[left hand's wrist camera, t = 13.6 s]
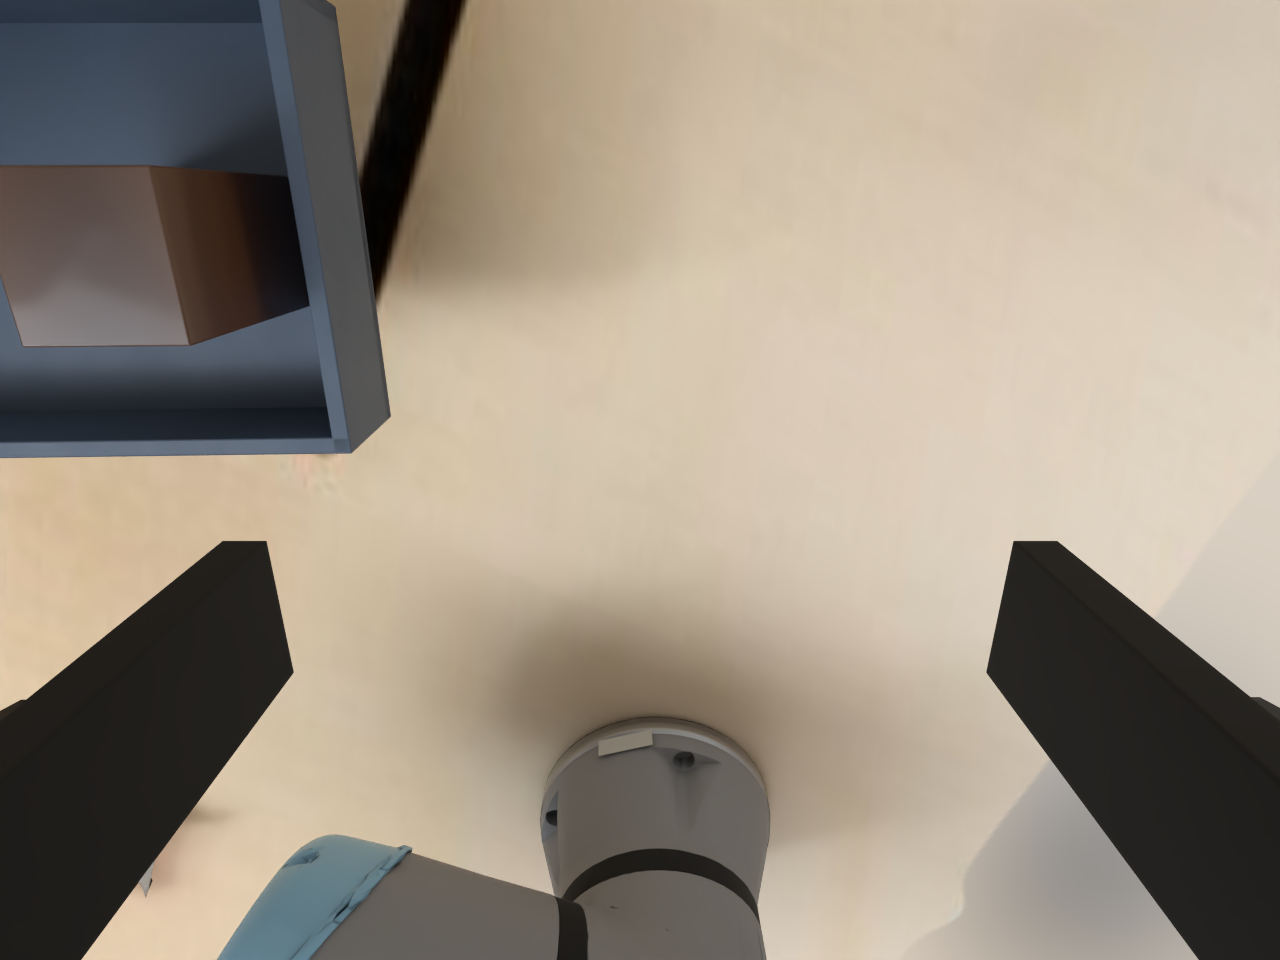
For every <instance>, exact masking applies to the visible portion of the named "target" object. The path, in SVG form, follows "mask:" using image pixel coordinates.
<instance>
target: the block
mask: <svg viewBox="0 0 1280 960" xmlns="http://www.w3.org/2000/svg"><path fill="white" fill-rule="evenodd" d="M0 277H1V280H2V283H3V286H4V289H5V293H6V296H7V299H8V302H9V305H10V309H11V312H12V315H13V318H14V321H15V324H16V328H17V331H18V334H19V337H20V340H21V344H22V346H23V347H140V346H192V345H195V344H198V343H201V342H204V341H207V340H210V339H213V338H216V337H219V336H222V335H225V334H228V333H231V332H234V331H237V330H240V329H243V328H246V327H249V326H252V325H255V324H258V323H261V322H264V321H267V320H270V319H273V318H276V317H279V316H282V315H285V314H288V313H291V312H294V311H297V310H300V309H303V308H306V307H309V299H308V293H307V287H306V281H305V275H304V269H303V263H302V257H301V251H300V245H299V239H298V233H297V227H296V221H295V215H294V209H293V203H292V197H291V191H290V185H289V179H288V177H287V176H281V175H268V174H256V173H244V172H231V171H219V170H207V169H194V168H182V167H169V166H157V165H0Z"/></svg>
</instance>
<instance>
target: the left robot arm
mask: <svg viewBox="0 0 1280 960" xmlns="http://www.w3.org/2000/svg"><path fill="white" fill-rule="evenodd" d="M293 673H294V672H293V667H292V662H291V657H290V653H289V648H288V643H287V638H286V633H285V629H284V624H283V619H282V614H281V609H280V604H279V600H278V595H277V590H276V585H275V580H274V576H273V571H272V566H271V561H270V556H269V551H268V547H267V542H266V541H222V542H221V543H220V544H219V545H217V546H216V547H215V548H214V549H212V550H211V551H210V552H209V553H207V554H206V555H205V556H204V557H202V558H201V559H200V560H199V561H198V562H196V563H195V564H194V565H193V566H191V567H190V568H189V569H188V570H186V571H185V572H184V573H183V574H181V575H180V576H179V577H178V578H176V579H175V580H174V581H173V582H172V583H170V584H169V585H168V586H167V587H165V588H164V589H163V590H162V591H160V592H159V593H158V594H157V595H155V596H154V597H153V598H152V599H150V600H149V601H148V602H147V603H146V604H144V605H143V606H142V607H141V608H139V609H138V610H137V611H136V612H134V613H133V614H132V615H131V616H129V617H128V618H127V619H126V620H124V621H123V622H122V623H121V624H120V625H118V626H117V627H116V628H115V629H113V630H112V631H111V632H110V633H108V634H107V635H106V636H105V637H103V638H102V639H101V640H100V641H99V642H97V643H96V644H95V645H94V646H92V647H91V648H90V649H89V650H87V651H86V652H85V653H84V654H82V655H81V656H80V657H79V658H77V659H76V660H75V661H74V662H73V663H71V664H70V665H69V666H68V667H66V668H65V669H64V670H63V671H61V672H60V673H59V674H58V675H56V676H55V677H54V678H53V679H51V680H50V681H49V682H48V683H47V684H45V685H44V686H43V687H42V688H40V689H39V690H38V691H37V692H35V693H34V694H33V695H32V696H30V697H29V698H28V699H27V700H20V701H18V702H16V703H14V704H12V705H11V706H9V707H7V708H5V709H3V710H1V711H0V960H81V959H82V958H83V957H84V955H85V954H86V953H87V951H88V950H89V948H90V947H91V946H92V944H93V943H94V942H95V940H96V939H97V938H98V936H99V935H100V934H101V932H102V931H103V930H104V928H105V927H106V925H107V924H108V923H109V921H110V920H111V919H112V917H113V916H114V915H115V913H116V912H117V911H118V909H119V908H120V907H121V905H122V904H123V903H124V901H125V900H126V898H127V897H128V896H129V894H130V893H131V892H132V890H133V889H134V888H135V886H136V885H137V884H138V882H139V881H140V880H141V878H142V877H143V875H144V874H145V873H146V871H147V870H148V869H149V867H150V866H151V865H152V863H153V862H154V861H155V859H156V858H157V857H158V855H159V854H160V852H161V851H162V850H163V848H164V847H165V846H166V844H167V843H168V842H169V840H170V839H171V838H172V836H173V835H174V834H175V832H176V831H177V829H178V828H179V827H180V825H181V824H182V823H183V821H184V820H185V819H186V817H187V816H188V815H189V813H190V812H191V811H192V809H193V808H194V807H195V805H196V804H197V802H198V801H199V800H200V798H201V797H202V796H203V794H204V793H205V792H206V790H207V789H208V788H209V786H210V785H211V784H212V782H213V781H214V779H215V778H216V777H217V775H218V774H219V773H220V771H221V770H222V769H223V767H224V766H225V765H226V763H227V762H228V761H229V759H230V758H231V756H232V755H233V754H234V752H235V751H236V750H237V748H238V747H239V746H240V744H241V743H242V742H243V740H244V739H245V738H246V736H247V735H248V733H249V732H250V731H251V729H252V728H253V727H254V725H255V724H256V723H257V721H258V720H259V719H260V717H261V716H262V715H263V713H264V712H265V710H266V709H267V708H268V706H269V705H270V704H271V702H272V701H273V700H274V698H275V697H276V696H277V694H278V693H279V692H280V690H281V689H282V688H283V686H284V685H285V683H286V682H287V681H288V679H289V678H290V677H291V675H292V674H293ZM986 673H987V674H988V675H989V677H990V678H991V679H992V681H993V682H994V683H995V685H996V686H997V688H998V689H999V690H1000V692H1001V693H1002V694H1003V696H1004V697H1005V698H1006V700H1007V701H1008V702H1009V704H1010V705H1011V706H1012V708H1013V709H1014V711H1015V712H1016V713H1017V715H1018V716H1019V717H1020V719H1021V720H1022V721H1023V723H1024V724H1025V725H1026V727H1027V728H1028V729H1029V731H1030V732H1031V733H1032V735H1033V736H1034V738H1035V739H1036V740H1037V742H1038V743H1039V744H1040V746H1041V747H1042V748H1043V750H1044V751H1045V752H1046V754H1047V755H1048V756H1049V758H1050V759H1051V760H1052V762H1053V763H1054V765H1055V766H1056V767H1057V769H1058V770H1059V771H1060V773H1061V774H1062V775H1063V777H1064V778H1065V779H1066V781H1067V782H1068V784H1069V785H1070V786H1071V788H1072V789H1073V790H1074V792H1075V793H1076V794H1077V796H1078V797H1079V798H1080V800H1081V801H1082V802H1083V804H1084V805H1085V807H1086V808H1087V809H1088V811H1089V812H1090V813H1091V815H1092V816H1093V817H1094V819H1095V820H1096V821H1097V823H1098V824H1099V825H1100V827H1101V828H1102V829H1103V831H1104V832H1105V834H1106V835H1107V836H1108V838H1109V839H1110V840H1111V842H1112V843H1113V844H1114V846H1115V847H1116V848H1117V850H1118V851H1119V852H1120V854H1121V855H1122V857H1123V858H1124V859H1125V861H1126V862H1127V863H1128V865H1129V866H1130V867H1131V869H1132V870H1133V871H1134V873H1135V874H1136V875H1137V877H1138V878H1139V879H1140V881H1141V882H1142V884H1143V885H1144V886H1145V888H1146V889H1147V890H1148V892H1149V893H1150V894H1151V896H1152V897H1153V898H1154V900H1155V901H1156V903H1157V904H1158V905H1159V907H1160V908H1161V909H1162V910H1163V912H1164V913H1165V915H1166V916H1167V917H1168V919H1169V920H1170V921H1171V923H1172V924H1173V925H1174V927H1175V928H1176V930H1177V931H1178V932H1179V934H1180V935H1181V936H1182V938H1183V939H1184V940H1185V942H1186V943H1187V944H1188V946H1189V947H1190V948H1191V950H1192V951H1193V953H1194V954H1195V955H1196V957H1197V958H1198V959H1199V960H1280V708H1279V707H1277V706H1275V705H1273V704H1271V703H1270V702H1268V701H1266V700H1264V699H1262V698H1260V697H1250V696H1248V695H1247V694H1246V693H1245V692H1243V691H1242V690H1241V689H1240V688H1238V687H1237V686H1236V685H1235V684H1233V683H1232V682H1231V681H1230V680H1229V679H1227V678H1226V677H1225V676H1223V675H1222V674H1221V673H1220V672H1219V671H1217V670H1216V669H1215V668H1214V667H1212V666H1211V665H1210V664H1209V663H1207V662H1206V661H1205V660H1204V659H1203V658H1201V657H1200V656H1199V655H1198V654H1196V653H1195V652H1194V651H1193V650H1191V649H1190V648H1189V647H1188V646H1186V645H1185V644H1184V643H1183V642H1181V641H1180V640H1179V639H1178V638H1177V637H1175V636H1174V635H1173V634H1172V633H1170V632H1169V631H1168V630H1167V629H1165V628H1164V627H1163V626H1162V625H1160V624H1159V623H1158V622H1157V621H1155V620H1154V619H1153V618H1152V617H1151V616H1149V615H1148V614H1147V613H1146V612H1144V611H1143V610H1142V609H1141V608H1139V607H1138V606H1137V605H1136V604H1134V603H1133V602H1132V601H1131V600H1130V599H1128V598H1127V597H1126V596H1125V595H1123V594H1122V593H1121V592H1120V591H1118V590H1117V589H1116V588H1115V587H1113V586H1112V585H1111V584H1110V583H1108V582H1107V581H1106V580H1105V579H1104V578H1102V577H1101V576H1100V575H1099V574H1097V573H1096V572H1095V571H1094V570H1092V569H1091V568H1090V567H1089V566H1087V565H1086V564H1085V563H1084V562H1082V561H1081V560H1080V559H1079V558H1078V557H1076V556H1075V555H1074V554H1073V553H1071V552H1070V551H1069V550H1068V549H1066V548H1065V547H1064V546H1063V545H1061V544H1060V543H1059V542H1058V541H1014V542H1013V547H1012V551H1011V556H1010V561H1009V566H1008V571H1007V576H1006V580H1005V585H1004V590H1003V595H1002V600H1001V604H1000V609H999V614H998V619H997V624H996V629H995V633H994V638H993V643H992V648H991V653H990V657H989V662H988V667H987V672H986ZM540 822H541V836H542V843H543V848H544V852H545V856H546V861H547V865H548V869H549V873H550V878H551V882H552V886H553V891H554V895H555V896H553V895H551V894H547V893H544V892H540V891H537V890H533V889H530V888H526V887H523V886H519V885H516V884H512V883H509V882H505V881H502V880H498V879H495V878H491V877H488V876H484V875H481V874H478V873H475V872H472V871H468V870H465V869H462V868H459V867H456V866H452V865H449V864H446V863H443V862H439V861H436V860H433V859H430V858H427V857H423V856H420V855H417V854H414V853H411V852H412V848H411V847H408V846H405V845H403V846H400V847H398V848H395V847H391V846H387V845H382V844H378V843H374V842H370V841H365V840H361V839H357V838H353V837H349V836H344V835H327V836H323V837H320V838H317V839H315V840H313V841H311V842H309V843H308V844H306V845H304V846H303V847H302V848H300V849H299V850H298V851H297V852H296V853H295V854H294V855H293V856H291V857H290V858H289V860H288V861H287V862H286V863H285V864H284V865H283V866H282V867H281V869H280V870H279V871H278V872H277V874H276V875H275V876H274V877H273V879H272V880H271V881H270V883H269V884H268V885H267V887H266V888H265V889H264V891H263V892H262V893H261V895H260V896H259V898H258V899H257V900H256V902H255V903H254V905H253V906H252V907H251V909H250V910H249V912H248V913H247V915H246V916H245V918H244V919H243V921H242V922H241V924H240V925H239V927H238V928H237V930H236V931H235V933H234V934H233V936H232V937H231V939H230V940H229V942H228V943H227V945H226V946H225V948H224V949H223V951H222V952H221V954H220V956H219V957H218V959H217V960H767V959H766V954H765V948H764V942H763V936H762V931H761V926H760V920H759V914H758V907H757V903H758V898H759V892H760V886H761V881H762V875H763V870H764V864H765V858H766V852H767V846H768V841H769V835H770V811H769V805H768V800H767V795H766V791H765V787H764V783H763V780H762V777H761V775H760V773H759V771H758V769H757V767H756V766H755V764H754V763H753V761H752V760H751V759H750V757H749V756H748V755H747V754H746V753H745V752H744V751H743V750H742V749H741V748H740V747H739V746H738V745H737V744H736V743H734V742H733V741H731V740H730V739H729V738H727V737H726V736H724V735H722V734H720V733H719V732H717V731H715V730H712V729H710V728H708V727H705V726H703V725H700V724H697V723H693V722H689V721H685V720H680V719H673V718H657V717H651V718H638V719H631V720H626V721H622V722H618V723H615V724H611V725H608V726H606V727H603V728H601V729H599V730H596V731H594V732H592V733H591V734H589V735H587V736H585V737H584V738H582V739H581V740H579V741H578V742H577V743H575V744H574V745H573V746H572V747H570V748H569V749H568V750H567V751H566V752H565V753H564V754H563V756H562V757H561V758H560V759H559V760H558V762H557V763H556V765H555V766H554V768H553V769H552V771H551V773H550V776H549V778H548V780H547V783H546V786H545V791H544V796H543V802H542V808H541V818H540Z"/></svg>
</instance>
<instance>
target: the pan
mask: <svg viewBox="0 0 1280 960" xmlns="http://www.w3.org/2000/svg"><path fill="white" fill-rule="evenodd" d="M0 165H157V166H169V167H182V168H194V169H207V170H219V171H231V172H244V173H256V174H268V175H281V176H287V177H288V179H289V185H290V191H291V197H292V203H293V209H294V215H295V221H296V227H297V233H298V239H299V245H300V251H301V257H302V263H303V269H304V275H305V281H306V287H307V293H308V299H309V307H306V308H303V309H300V310H297V311H294V312H291V313H288V314H285V315H282V316H279V317H276V318H273V319H270V320H267V321H264V322H261V323H258V324H255V325H252V326H249V327H246V328H243V329H240V330H237V331H234V332H231V333H228V334H225V335H222V336H219V337H216V338H213V339H210V340H207V341H204V342H201V343H198V344H195V345H192V346H140V347H23V346H22V344H21V340H20V337H19V334H18V331H17V328H16V324H15V321H14V318H13V315H12V312H11V309H10V305H9V302H8V299H7V296H6V293H5V289H4V286H3V283H2V280H1V277H0V458H37V457H111V456H184V455H258V454H331V453H336V454H340V453H352V452H353V451H354V450H355V449H356V448H358V447H359V446H360V445H361V444H362V443H363V442H364V441H365V440H366V439H367V438H368V437H369V436H370V435H371V434H373V433H374V432H375V431H376V430H377V429H378V428H379V427H380V426H381V425H382V424H383V423H384V422H385V421H386V420H388V419H389V418H390V417H391V414H390V407H389V399H388V392H387V385H386V377H385V370H384V362H383V355H382V348H381V340H380V333H379V326H378V318H377V311H376V303H375V296H374V289H373V281H372V274H371V267H370V259H369V252H368V244H367V237H366V230H365V222H364V215H363V208H362V200H361V193H360V185H359V178H358V171H357V163H356V156H355V149H354V141H353V134H352V126H351V119H350V112H349V104H348V97H347V90H346V82H345V75H344V67H343V60H342V53H341V45H340V38H339V31H338V23H337V16H336V8H335V6H333V5H332V4H331V3H329V2H328V1H326V0H0Z"/></svg>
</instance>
